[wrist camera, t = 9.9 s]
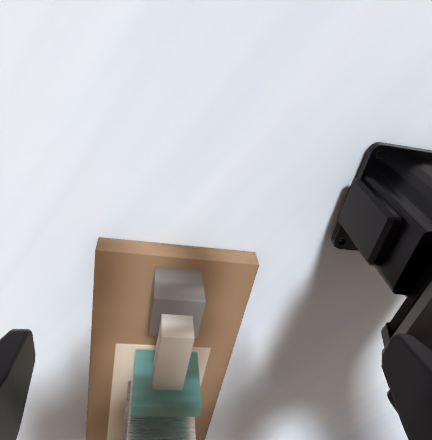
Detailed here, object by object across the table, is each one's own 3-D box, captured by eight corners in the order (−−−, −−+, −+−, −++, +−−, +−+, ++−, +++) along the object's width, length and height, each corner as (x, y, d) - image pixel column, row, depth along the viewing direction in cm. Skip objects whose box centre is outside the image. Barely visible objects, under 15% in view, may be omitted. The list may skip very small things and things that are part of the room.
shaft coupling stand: (255, 252, 24) (281, 333, 18) (187, 479, 37) (190, 565, 31) (98, 237, 22) (77, 322, 17) (85, 481, 35) (71, 572, 30)
